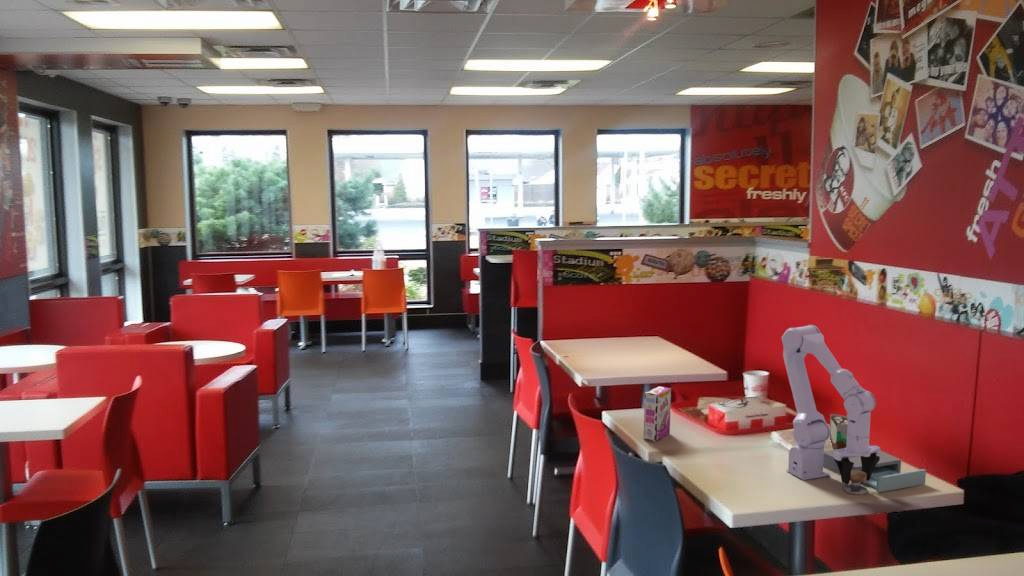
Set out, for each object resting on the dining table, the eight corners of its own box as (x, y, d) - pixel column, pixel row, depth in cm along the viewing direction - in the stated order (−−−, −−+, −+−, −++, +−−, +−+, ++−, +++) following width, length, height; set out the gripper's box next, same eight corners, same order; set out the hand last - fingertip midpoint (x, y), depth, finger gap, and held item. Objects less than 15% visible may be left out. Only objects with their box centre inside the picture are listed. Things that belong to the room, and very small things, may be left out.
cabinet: (900, 473, 237) (901, 459, 236) (854, 481, 231) (855, 467, 230) (864, 458, 250) (865, 444, 249) (820, 465, 244) (821, 451, 243)
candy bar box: (656, 442, 266) (657, 394, 264) (643, 439, 269) (643, 392, 267) (670, 433, 275) (671, 387, 273) (657, 431, 278) (658, 385, 276)
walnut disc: (855, 483, 221) (855, 477, 220) (841, 476, 226) (841, 471, 226) (870, 480, 223) (871, 475, 222) (856, 473, 228) (856, 468, 227)
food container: (856, 456, 251) (858, 426, 250) (836, 455, 252) (837, 425, 251) (848, 443, 263) (850, 414, 262) (828, 442, 264) (830, 413, 263)
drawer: (925, 484, 228) (926, 469, 228) (878, 492, 222) (879, 478, 222) (888, 468, 241) (889, 454, 240) (843, 475, 235) (844, 462, 234)
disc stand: (854, 496, 221) (855, 484, 220) (837, 487, 227) (838, 476, 226) (872, 493, 223) (873, 481, 222) (855, 484, 229) (856, 473, 228)
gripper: (847, 442, 216) (845, 490, 218) (889, 435, 221) (886, 482, 223) (829, 434, 223) (827, 480, 225) (870, 428, 228) (867, 473, 230)
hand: (855, 481), depth 224 cm, fingers open, 7 cm apart
